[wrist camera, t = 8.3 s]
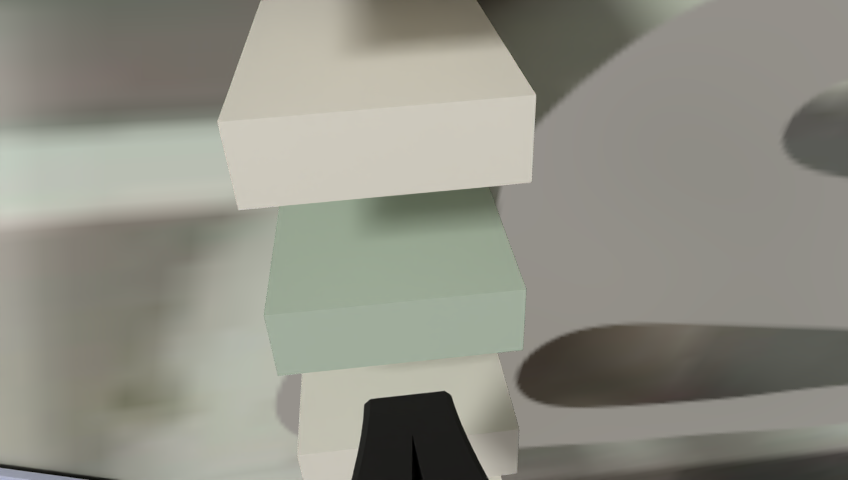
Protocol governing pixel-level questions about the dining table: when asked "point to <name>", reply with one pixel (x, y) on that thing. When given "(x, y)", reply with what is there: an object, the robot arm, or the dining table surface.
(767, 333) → the dining table surface
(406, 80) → the domino
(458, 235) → the domino
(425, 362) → the domino
